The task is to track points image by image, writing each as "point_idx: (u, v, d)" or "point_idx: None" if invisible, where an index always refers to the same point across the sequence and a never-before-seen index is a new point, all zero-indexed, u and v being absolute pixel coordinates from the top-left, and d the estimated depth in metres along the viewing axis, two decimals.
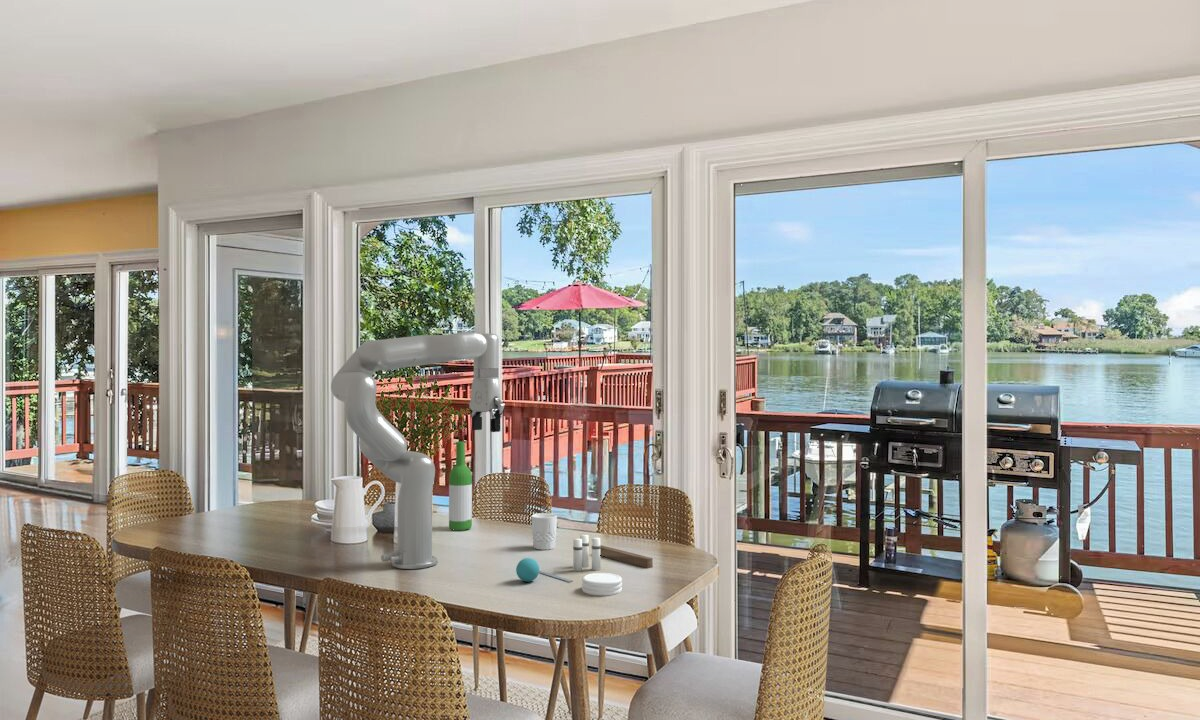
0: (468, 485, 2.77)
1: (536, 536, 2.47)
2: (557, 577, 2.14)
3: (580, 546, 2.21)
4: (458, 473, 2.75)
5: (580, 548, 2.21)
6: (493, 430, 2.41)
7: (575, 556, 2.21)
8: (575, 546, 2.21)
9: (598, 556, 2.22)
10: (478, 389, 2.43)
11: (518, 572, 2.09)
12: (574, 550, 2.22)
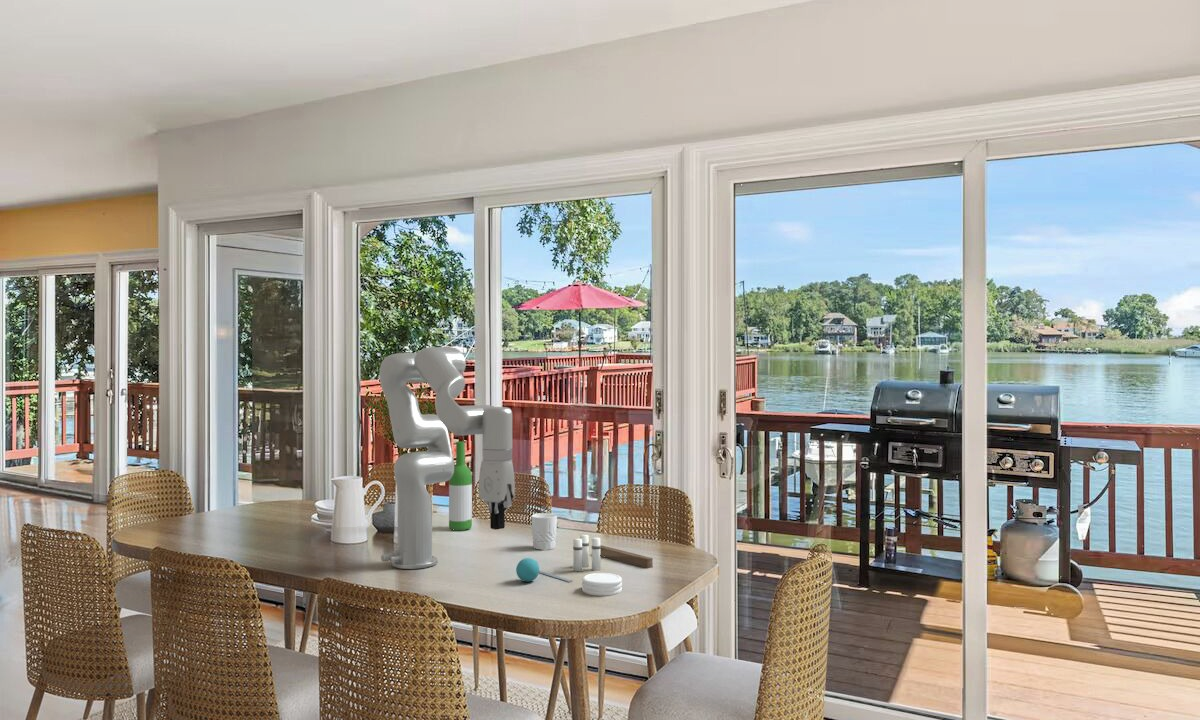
0: (468, 485, 2.77)
1: (536, 536, 2.47)
2: (557, 577, 2.14)
3: (580, 546, 2.21)
4: (458, 473, 2.75)
5: (580, 548, 2.21)
6: (496, 527, 2.04)
7: (575, 556, 2.21)
8: (575, 546, 2.21)
9: (598, 556, 2.22)
10: (488, 474, 2.03)
11: (518, 572, 2.09)
12: (574, 550, 2.22)
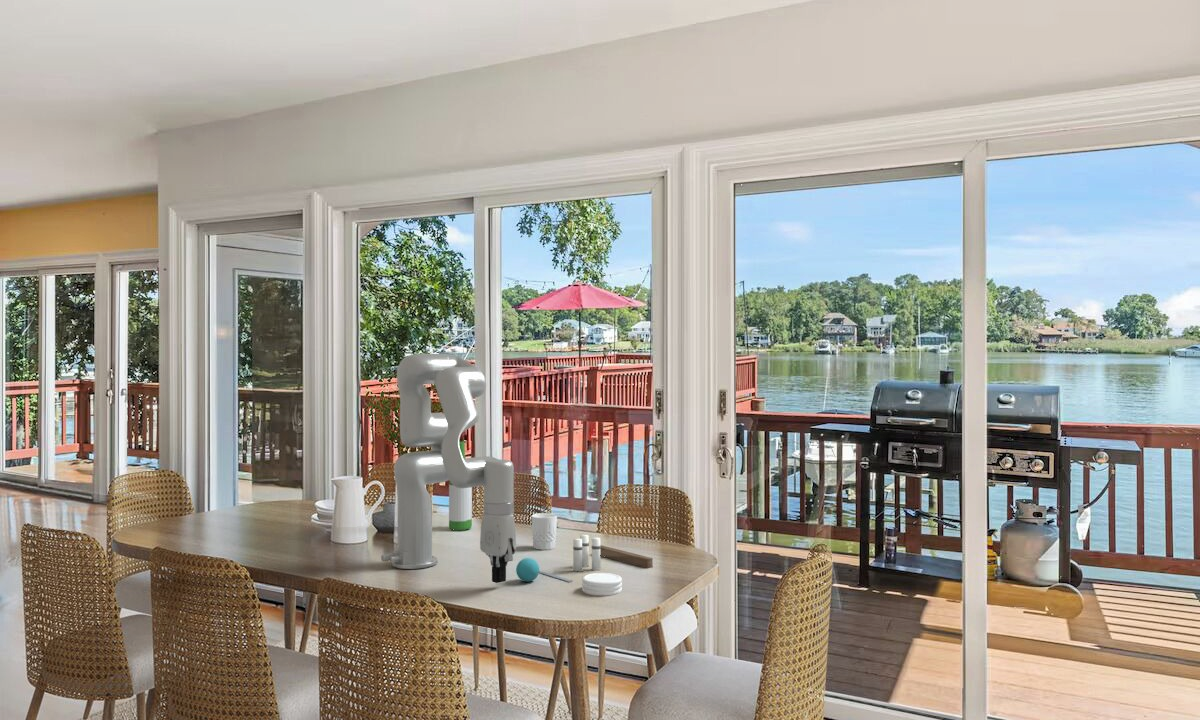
0: None
1: (536, 536, 2.47)
2: (557, 577, 2.14)
3: (580, 546, 2.21)
4: None
5: (580, 548, 2.21)
6: (497, 580, 2.04)
7: (575, 556, 2.21)
8: (575, 546, 2.21)
9: (598, 556, 2.22)
10: (489, 528, 2.03)
11: (518, 572, 2.09)
12: (574, 550, 2.22)
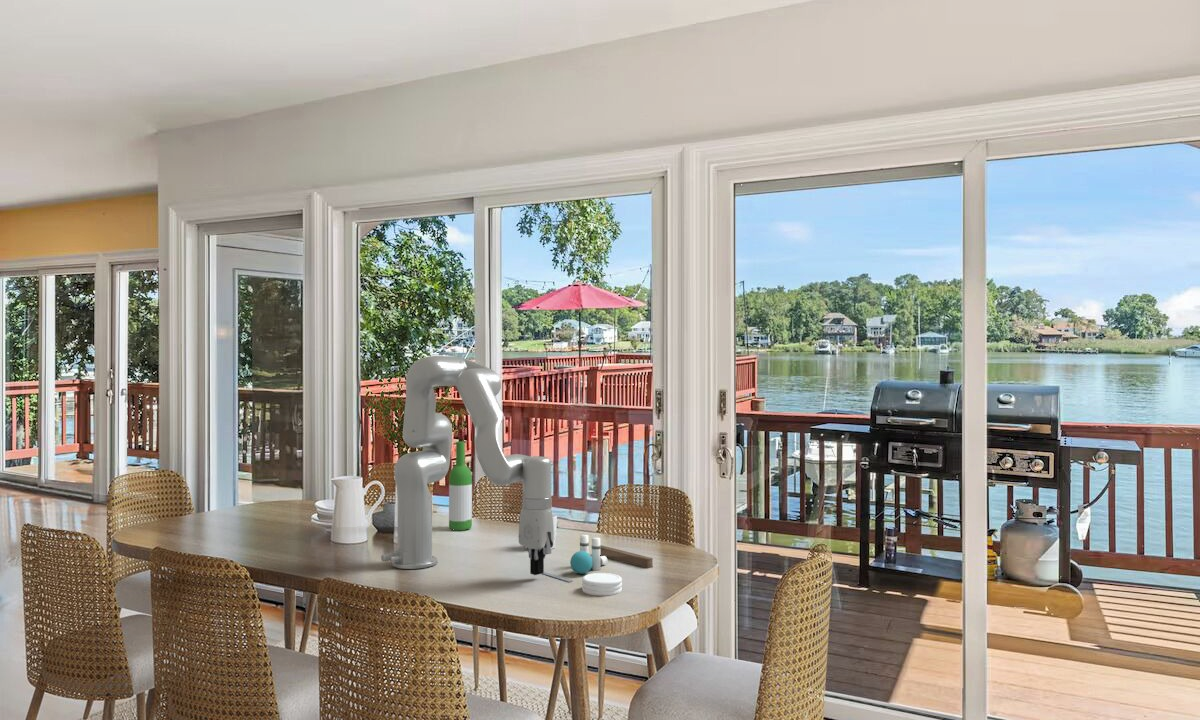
0: (468, 485, 2.77)
1: None
2: (557, 577, 2.14)
3: (602, 562, 2.27)
4: (458, 473, 2.75)
5: (601, 562, 2.26)
6: (536, 573, 2.12)
7: None
8: (601, 557, 2.27)
9: (598, 556, 2.22)
10: (528, 522, 2.11)
11: None
12: None
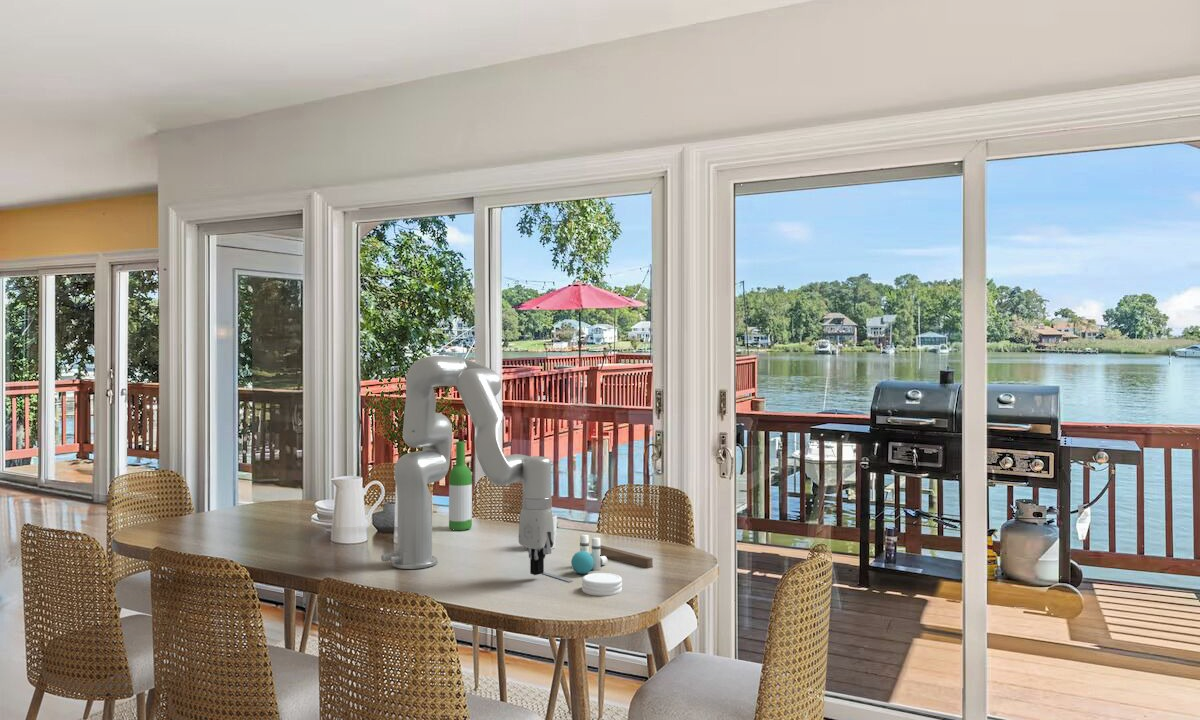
0: (468, 485, 2.77)
1: None
2: (557, 577, 2.14)
3: (602, 562, 2.27)
4: (458, 473, 2.75)
5: (601, 562, 2.26)
6: (536, 573, 2.12)
7: None
8: (601, 557, 2.27)
9: (598, 556, 2.22)
10: (528, 522, 2.11)
11: None
12: None
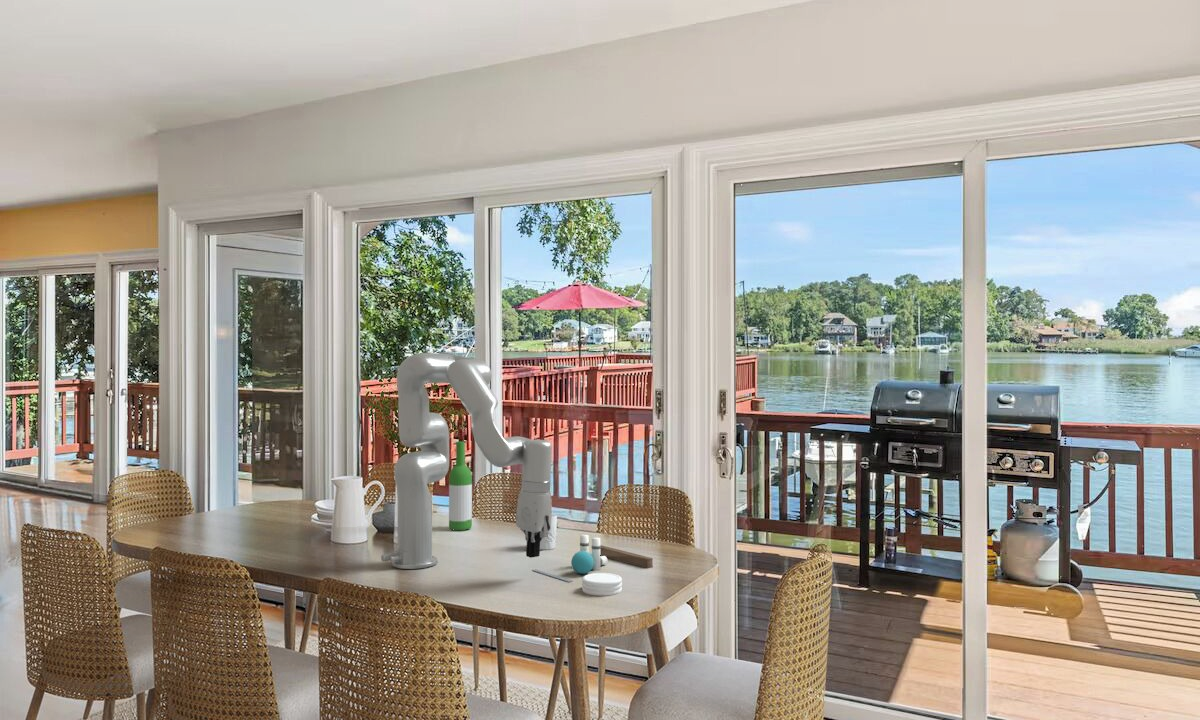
0: (468, 485, 2.77)
1: None
2: (557, 577, 2.14)
3: (602, 562, 2.27)
4: (458, 473, 2.75)
5: (601, 562, 2.26)
6: (532, 555, 2.12)
7: None
8: (601, 557, 2.27)
9: (598, 556, 2.22)
10: (526, 505, 2.11)
11: None
12: None
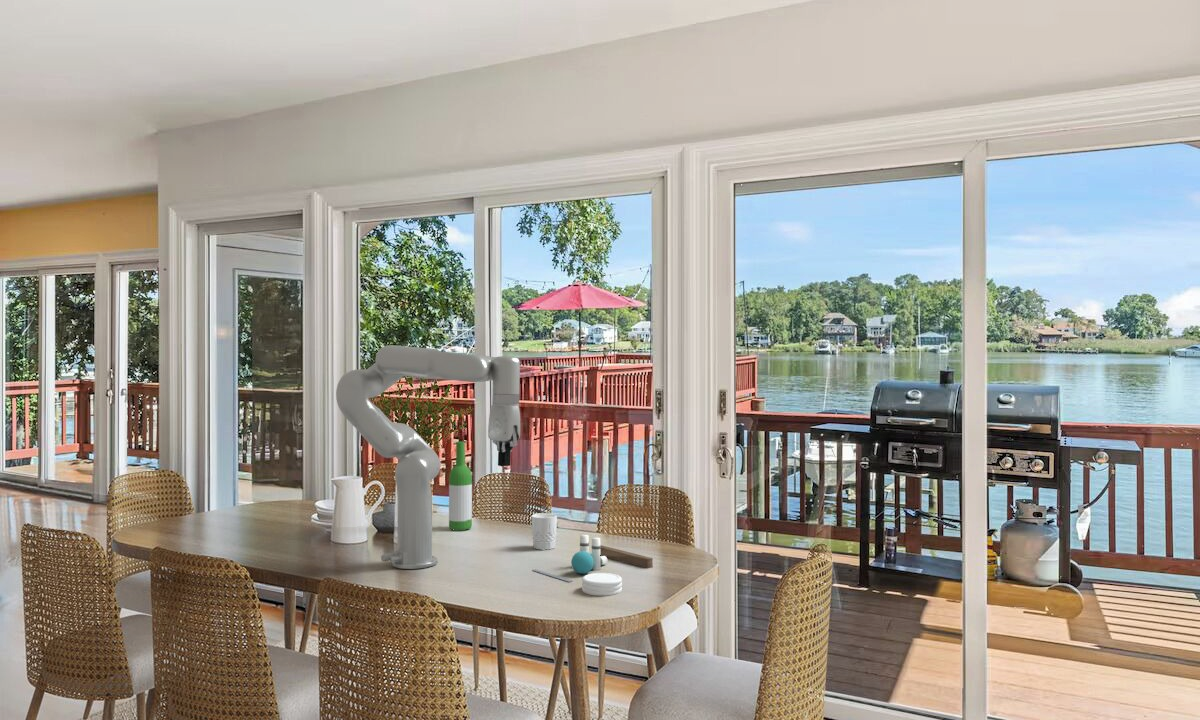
0: (468, 485, 2.77)
1: (536, 536, 2.47)
2: (557, 577, 2.14)
3: (602, 562, 2.27)
4: (458, 473, 2.75)
5: (601, 562, 2.26)
6: (503, 464, 2.26)
7: None
8: (601, 557, 2.27)
9: (598, 556, 2.22)
10: (497, 416, 2.25)
11: None
12: None
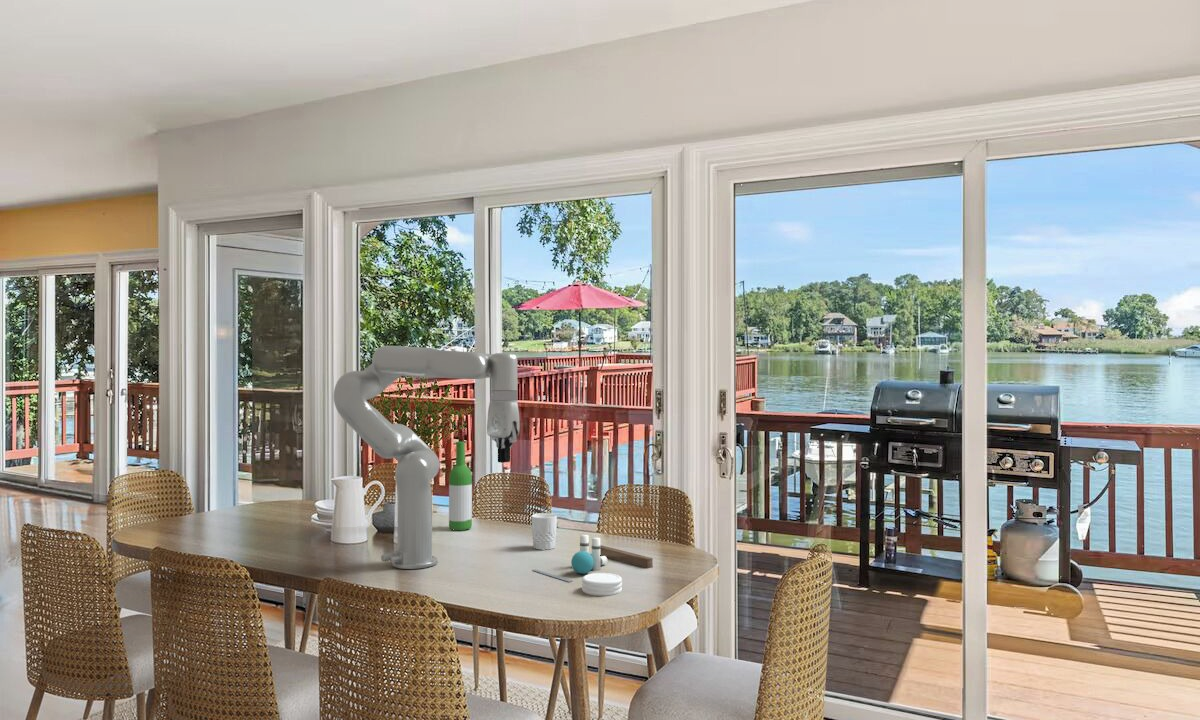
0: (468, 485, 2.77)
1: (536, 536, 2.47)
2: (557, 577, 2.14)
3: (602, 562, 2.27)
4: (458, 473, 2.75)
5: (601, 562, 2.26)
6: (503, 460, 2.27)
7: None
8: (601, 557, 2.27)
9: (598, 556, 2.22)
10: (495, 413, 2.26)
11: None
12: None
